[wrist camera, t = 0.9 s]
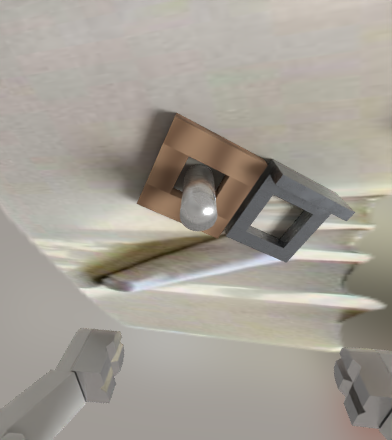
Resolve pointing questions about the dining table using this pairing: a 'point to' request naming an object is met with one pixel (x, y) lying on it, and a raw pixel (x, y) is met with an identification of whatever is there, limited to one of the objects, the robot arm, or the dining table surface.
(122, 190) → the dining table surface
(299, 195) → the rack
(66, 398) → the robot arm
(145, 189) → the socket block
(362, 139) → the dining table surface
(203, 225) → the steel cylinder
